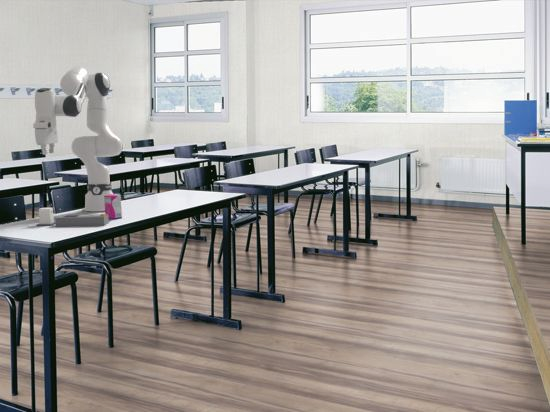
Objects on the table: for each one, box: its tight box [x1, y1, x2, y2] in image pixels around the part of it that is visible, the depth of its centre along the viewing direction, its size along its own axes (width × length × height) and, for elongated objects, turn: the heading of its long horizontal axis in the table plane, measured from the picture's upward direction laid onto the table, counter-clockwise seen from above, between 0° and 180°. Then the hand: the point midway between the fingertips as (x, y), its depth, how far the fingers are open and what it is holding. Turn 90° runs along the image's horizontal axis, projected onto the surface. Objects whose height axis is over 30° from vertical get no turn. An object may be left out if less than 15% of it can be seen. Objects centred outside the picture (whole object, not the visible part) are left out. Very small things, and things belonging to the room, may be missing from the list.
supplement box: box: [104, 193, 123, 220], centre depth 317 cm, size 6×6×12 cm
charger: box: [38, 207, 55, 224], centre depth 302 cm, size 4×5×7 cm
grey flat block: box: [54, 212, 112, 227], centre depth 304 cm, size 16×22×5 cm
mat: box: [35, 221, 55, 227], centre depth 302 cm, size 7×7×1 cm
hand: (48, 153), depth 306 cm, fingers open, 8 cm apart
